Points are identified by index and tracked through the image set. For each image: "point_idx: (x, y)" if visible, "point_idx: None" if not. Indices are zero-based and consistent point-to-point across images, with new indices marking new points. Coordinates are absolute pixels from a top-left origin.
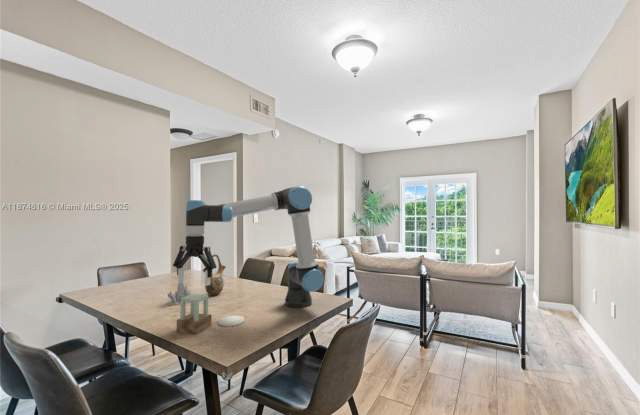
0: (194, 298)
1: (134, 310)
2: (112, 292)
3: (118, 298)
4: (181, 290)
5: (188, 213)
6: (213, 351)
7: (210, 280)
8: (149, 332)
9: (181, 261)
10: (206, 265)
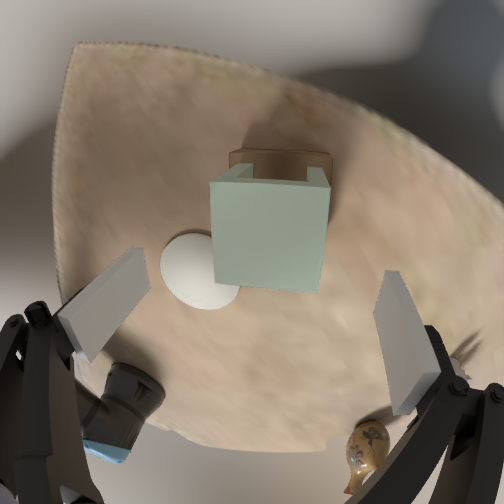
0: (241, 204)
1: None
2: None
3: None
4: None
5: None
6: (124, 71)
7: (374, 452)
8: (418, 140)
9: (418, 466)
10: (32, 350)
